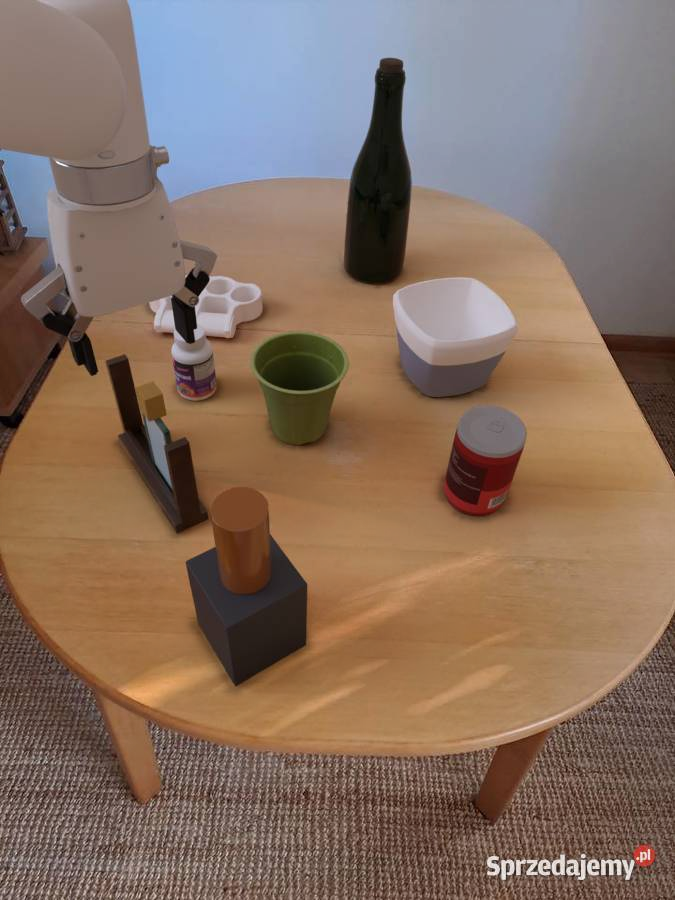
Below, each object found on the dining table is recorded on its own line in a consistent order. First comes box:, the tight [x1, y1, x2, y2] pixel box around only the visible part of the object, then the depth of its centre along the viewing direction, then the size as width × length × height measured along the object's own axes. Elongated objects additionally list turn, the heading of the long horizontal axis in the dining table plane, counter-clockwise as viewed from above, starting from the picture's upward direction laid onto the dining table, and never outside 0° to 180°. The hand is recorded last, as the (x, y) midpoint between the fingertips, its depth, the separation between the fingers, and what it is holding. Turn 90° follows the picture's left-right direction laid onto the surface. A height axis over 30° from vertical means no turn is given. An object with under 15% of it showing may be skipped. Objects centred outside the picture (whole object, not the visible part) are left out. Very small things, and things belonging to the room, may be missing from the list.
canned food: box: [443, 404, 528, 517], centre depth 78 cm, size 8×8×11 cm
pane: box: [135, 381, 173, 493], centre depth 74 cm, size 2×7×14 cm, turn 34°
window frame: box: [104, 354, 210, 535], centre depth 77 cm, size 4×17×13 cm, turn 34°
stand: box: [185, 533, 308, 687], centre depth 64 cm, size 8×8×11 cm
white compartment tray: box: [148, 274, 264, 339], centre depth 105 cm, size 3×18×15 cm
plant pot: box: [249, 330, 350, 446], centre depth 85 cm, size 12×12×11 cm
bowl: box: [392, 276, 519, 398], centre depth 94 cm, size 15×15×11 cm
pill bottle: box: [170, 324, 218, 402], centre depth 90 cm, size 5×5×10 cm
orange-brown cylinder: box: [209, 486, 272, 595], centre depth 56 cm, size 5×5×9 cm
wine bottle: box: [343, 57, 413, 285], centre depth 105 cm, size 10×10×33 cm
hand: (138, 351), depth 64 cm, fingers open, 9 cm apart
